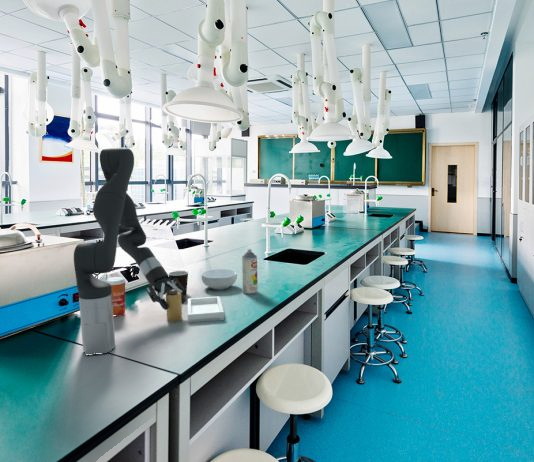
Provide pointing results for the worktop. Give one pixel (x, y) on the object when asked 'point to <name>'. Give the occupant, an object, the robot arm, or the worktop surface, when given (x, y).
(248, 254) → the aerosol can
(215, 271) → the cereal bowl
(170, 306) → the amber bottle
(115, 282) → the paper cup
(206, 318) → the lab tray
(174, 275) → the coffee mug
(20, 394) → the worktop surface
